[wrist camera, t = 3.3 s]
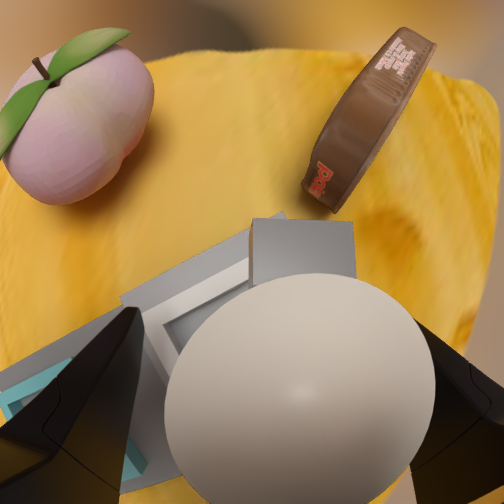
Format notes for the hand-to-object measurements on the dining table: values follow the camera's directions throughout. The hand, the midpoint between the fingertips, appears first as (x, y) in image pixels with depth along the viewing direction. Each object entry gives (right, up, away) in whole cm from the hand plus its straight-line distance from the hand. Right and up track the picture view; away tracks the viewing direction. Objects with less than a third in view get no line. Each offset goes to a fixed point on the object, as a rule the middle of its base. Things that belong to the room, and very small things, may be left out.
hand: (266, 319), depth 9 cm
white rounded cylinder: (0, -2, +4) cm, 5 cm away
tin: (+7, +10, +11) cm, 16 cm away
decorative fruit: (-10, +8, +9) cm, 16 cm away
